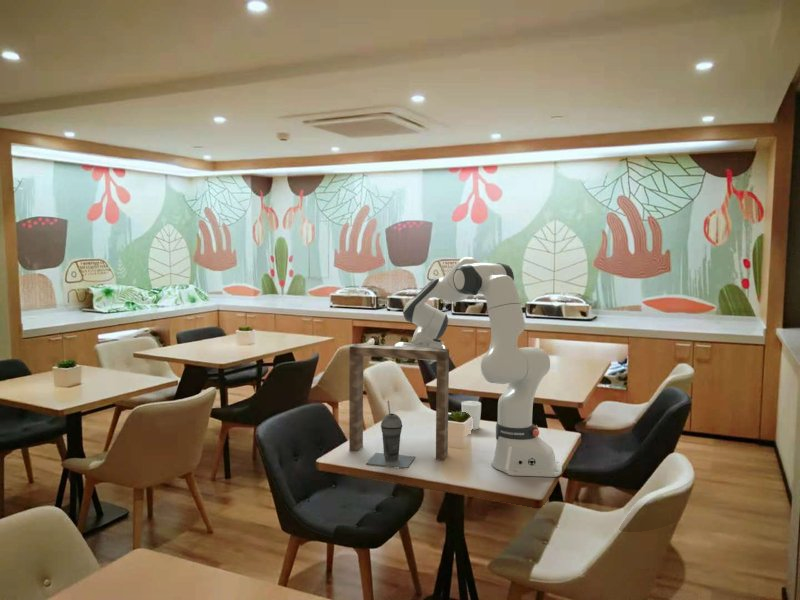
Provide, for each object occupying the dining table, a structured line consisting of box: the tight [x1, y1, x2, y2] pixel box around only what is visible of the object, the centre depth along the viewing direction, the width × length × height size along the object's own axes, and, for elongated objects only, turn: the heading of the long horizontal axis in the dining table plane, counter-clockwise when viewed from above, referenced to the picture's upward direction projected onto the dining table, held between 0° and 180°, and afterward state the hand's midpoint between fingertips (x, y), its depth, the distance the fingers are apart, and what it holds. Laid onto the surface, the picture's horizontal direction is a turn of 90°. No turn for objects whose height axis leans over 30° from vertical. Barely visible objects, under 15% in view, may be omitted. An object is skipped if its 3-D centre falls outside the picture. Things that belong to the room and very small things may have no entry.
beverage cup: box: [380, 400, 403, 462], centre depth 200 cm, size 7×7×20 cm
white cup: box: [461, 400, 482, 431], centre depth 240 cm, size 8×8×10 cm
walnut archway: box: [348, 343, 450, 461], centre depth 208 cm, size 34×6×37 cm, turn 75°
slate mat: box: [365, 452, 416, 469], centre depth 201 cm, size 14×11×1 cm
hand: (417, 360), depth 223 cm, fingers open, 8 cm apart
